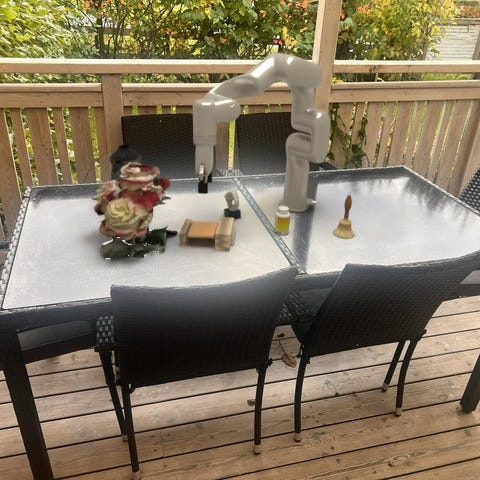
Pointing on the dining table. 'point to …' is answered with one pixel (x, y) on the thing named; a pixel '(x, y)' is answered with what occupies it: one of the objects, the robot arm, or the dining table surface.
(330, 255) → the dining table surface
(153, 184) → the rose bouquet
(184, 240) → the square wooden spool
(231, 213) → the watch
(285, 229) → the supplement bottle
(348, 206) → the hand bell
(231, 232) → the pin
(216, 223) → the flap
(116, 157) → the beer stein
